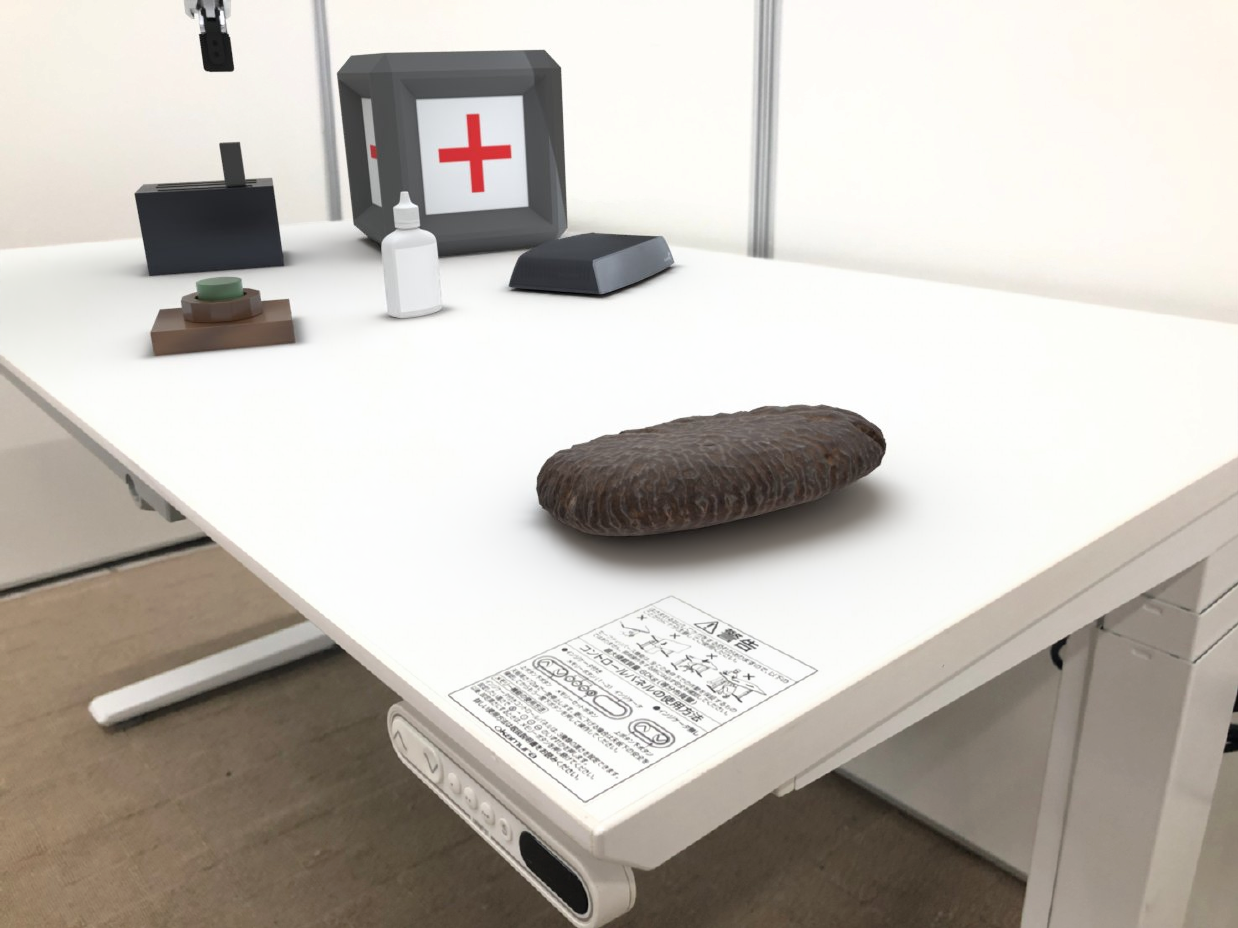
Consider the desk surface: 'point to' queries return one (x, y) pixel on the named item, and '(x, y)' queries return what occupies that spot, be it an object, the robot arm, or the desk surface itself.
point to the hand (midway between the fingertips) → (219, 71)
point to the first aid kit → (457, 146)
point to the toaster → (209, 226)
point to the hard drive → (591, 263)
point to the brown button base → (222, 324)
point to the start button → (219, 288)
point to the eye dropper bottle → (410, 265)
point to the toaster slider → (232, 163)
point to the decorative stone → (708, 469)
